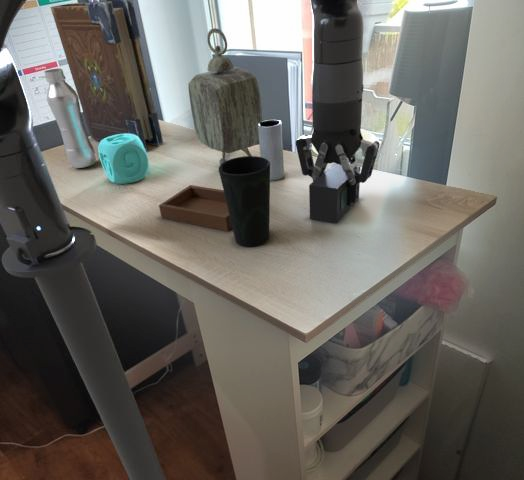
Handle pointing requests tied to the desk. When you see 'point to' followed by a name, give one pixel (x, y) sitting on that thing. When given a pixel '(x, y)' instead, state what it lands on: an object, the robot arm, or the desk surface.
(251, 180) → the cup
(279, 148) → the grey cylindrical tube
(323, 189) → the black rectangular box
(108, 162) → the decorative dice
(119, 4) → the decorative book
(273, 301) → the desk surface
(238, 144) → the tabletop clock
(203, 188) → the wooden tray
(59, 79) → the silver metal bottle
